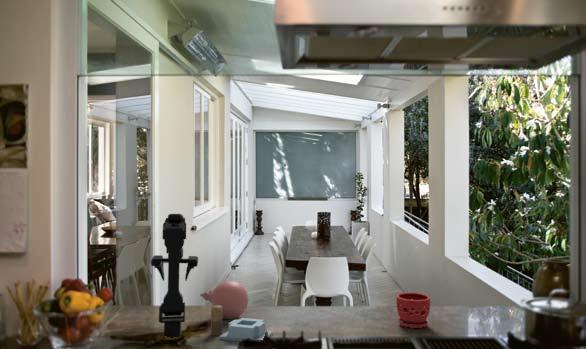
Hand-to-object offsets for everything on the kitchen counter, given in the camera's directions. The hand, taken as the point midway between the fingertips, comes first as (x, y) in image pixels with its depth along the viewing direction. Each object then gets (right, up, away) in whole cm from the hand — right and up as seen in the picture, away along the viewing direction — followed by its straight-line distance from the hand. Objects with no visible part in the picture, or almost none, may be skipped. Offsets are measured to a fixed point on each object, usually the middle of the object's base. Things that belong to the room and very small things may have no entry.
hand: (174, 280), depth 212 cm
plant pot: (+97, -16, -11) cm, 99 cm away
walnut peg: (+21, -15, -25) cm, 36 cm away
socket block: (+33, -15, -28) cm, 46 cm away
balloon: (+21, -16, -2) cm, 26 cm away
